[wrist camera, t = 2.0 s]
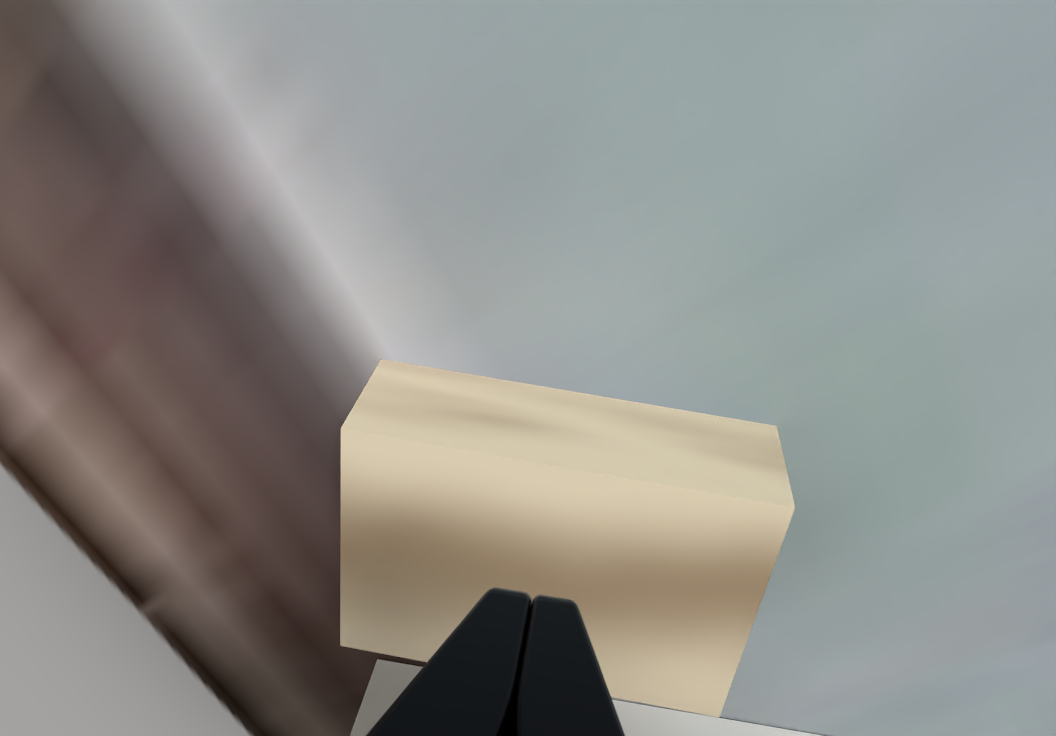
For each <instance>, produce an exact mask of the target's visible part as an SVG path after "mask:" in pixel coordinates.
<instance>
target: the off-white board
mask: <svg viewBox="0 0 1056 736" xmlns="http://www.w3.org/2000/svg"><path fill="white" fill-rule="evenodd" d="M422 668H423V667H420V666H414V665H408V664H402V663H397V662H391V661H385V660H379V659H377V662H376V664H375V667H374V670H373V673H372V675H371V678H370V681H369V684H368V687H367V689H366V692H365V695H364V698H363V701H362V703H361V706H360V709H359V712H358V714H357V717H356V720H355V723H354V726H353V728H352V731H351V734H350V736H366V735H367V734H368V732H369V731H370V730H371V729H372V728H373V726H374V725H375V724H376V723H377V722H378V720H379V719H380V718H381V717H382V716H383V714H384V713H385V712H386V711H387V710H388V708H389V707H390V706H391V705H392V704H393V702H394V701H395V700H396V699H397V698H398V696H399V695H400V694H401V693H402V692H403V690H404V689H405V688H406V687H407V686H408V684H409V683H410V682H411V681H412V680H413V678H414V677H415V676H416V675H417V674H418V672H419V671H420V670H421V669H422ZM612 701H613V704H614V706H615V709H616V712H617V715H618V717H619V720H620V723H621V726H622V728H623V731H624V734H625V736H822V735H817V734H811V733H805V732H799V731H793V730H787V729H782V728H776V727H770V726H764V725H758V724H752V723H747V722H741V721H735V720H729V719H723V718H717V717H712V716H706V715H700V714H694V713H688V712H682V711H677V710H671V709H665V708H659V707H653V706H647V705H642V704H636V703H630V702H624V701H618V700H612Z"/></svg>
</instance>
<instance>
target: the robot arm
mask: <svg viewBox="0 0 1056 736" xmlns="http://www.w3.org/2000/svg"><path fill="white" fill-rule="evenodd" d="M531 603H532V604H531ZM366 736H625V734H624V731H623V728H622V726H621V723H620V720H619V717H618V715H617V712H616V709H615V706H614V704H613V701H612V698H611V695H610V693H609V690H608V687H607V684H606V682H605V679H604V676H603V673H602V671H601V668H600V665H599V662H598V659H597V657H596V654H595V651H594V648H593V646H592V643H591V640H590V637H589V635H588V632H587V629H586V626H585V624H584V621H583V618H582V615H581V613H580V610H579V608H578V606H577V604H576V603H575V602H574V601H573V600H571V599H565V598H559V597H553V596H547V595H536V596H535V597H534V598H533V600H532V598H531V596H530V595H529V594H528V593H527V592H523V591H517V590H510V589H504V588H498V587H493V588H491V589H489V590H488V591H486V592H485V594H484V595H483V596H482V597H481V598H480V599H479V601H478V602H477V603H476V604H475V605H474V607H473V608H472V609H471V610H470V611H469V613H468V614H467V615H466V616H465V617H464V619H463V620H462V621H461V622H460V623H459V625H458V626H457V627H456V628H455V629H454V631H453V632H452V633H451V634H450V635H449V637H448V638H447V639H446V640H445V641H444V643H443V644H442V645H441V646H440V647H439V649H438V650H437V651H436V652H435V653H434V655H433V656H432V657H431V658H430V659H429V661H428V662H427V663H426V664H425V665H424V667H423V668H422V669H421V670H420V671H419V672H418V674H417V675H416V676H415V677H414V678H413V680H412V681H411V682H410V683H409V684H408V686H407V687H406V688H405V689H404V690H403V692H402V693H401V694H400V695H399V696H398V698H397V699H396V700H395V701H394V702H393V704H392V705H391V706H390V707H389V708H388V710H387V711H386V712H385V713H384V714H383V716H382V717H381V718H380V719H379V720H378V722H377V723H376V724H375V725H374V726H373V728H372V729H371V730H370V731H369V732H368V734H367V735H366Z"/></svg>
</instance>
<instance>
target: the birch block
mask: <svg viewBox="0 0 1056 736" xmlns="http://www.w3.org/2000/svg"><path fill="white" fill-rule="evenodd" d="M794 509H795V505H794V501H793V496H792V492H791V487H790V483H789V479H788V474H787V470H786V465H785V461H784V457H783V452H782V448H781V443H780V439H779V435H778V430H777V426H774V425H768V424H762V423H756V422H750V421H744V420H738V419H732V418H726V417H720V416H714V415H708V414H703V413H697V412H691V411H685V410H679V409H673V408H667V407H661V406H655V405H649V404H643V403H637V402H632V401H626V400H620V399H614V398H608V397H602V396H596V395H590V394H584V393H578V392H572V391H566V390H560V389H555V388H549V387H543V386H537V385H531V384H525V383H519V382H513V381H507V380H501V379H495V378H489V377H484V376H478V375H472V374H466V373H460V372H454V371H448V370H442V369H436V368H430V367H424V366H418V365H413V364H407V363H401V362H395V361H389V360H383V359H381V360H380V362H379V364H378V365H377V367H376V369H375V371H374V372H373V374H372V376H371V377H370V379H369V381H368V383H367V384H366V386H365V388H364V389H363V391H362V393H361V395H360V396H359V398H358V400H357V401H356V403H355V405H354V407H353V408H352V410H351V412H350V413H349V415H348V417H347V419H346V420H345V422H344V424H343V425H342V427H341V565H340V646H344V647H350V648H355V649H360V650H366V651H371V652H376V653H381V654H387V655H392V656H397V657H402V658H408V659H413V660H418V661H424V662H428V661H429V659H430V658H431V657H432V656H433V655H434V653H435V652H436V651H437V650H438V649H439V647H440V646H441V645H442V644H443V643H444V641H445V640H446V639H447V638H448V637H449V635H450V634H451V633H452V632H453V631H454V629H455V628H456V627H457V626H458V625H459V623H460V622H461V621H462V620H463V619H464V617H465V616H466V615H467V614H468V613H469V611H470V610H471V609H472V608H473V607H474V605H475V604H476V603H477V602H478V601H479V599H480V598H481V597H482V596H483V595H484V594H485V592H486V591H488V590H489V589H491V588H493V587H498V588H504V589H510V590H517V591H523V592H527V593H528V594H529V595H530V596H531V598H532V600H533V598H534V597H535V596H536V595H547V596H553V597H559V598H565V599H571V600H573V601H574V602H575V603H576V604H577V606H578V608H579V610H580V613H581V615H582V618H583V621H584V624H585V626H586V629H587V632H588V635H589V637H590V640H591V643H592V646H593V648H594V651H595V654H596V657H597V659H598V662H599V665H600V668H601V671H602V673H603V676H604V679H605V682H606V684H607V687H608V690H609V693H610V695H611V697H613V698H619V699H624V700H629V701H635V702H640V703H645V704H650V705H656V706H661V707H666V708H671V709H677V710H682V711H687V712H693V713H698V714H703V715H708V716H714V717H720V714H721V711H722V708H723V706H724V703H725V700H726V697H727V695H728V692H729V689H730V686H731V684H732V681H733V678H734V675H735V672H736V670H737V667H738V664H739V661H740V659H741V656H742V653H743V650H744V648H745V645H746V642H747V639H748V636H749V634H750V631H751V628H752V625H753V623H754V620H755V617H756V614H757V612H758V609H759V606H760V603H761V601H762V598H763V595H764V592H765V589H766V587H767V584H768V581H769V578H770V576H771V573H772V570H773V567H774V565H775V562H776V559H777V556H778V553H779V551H780V548H781V545H782V542H783V540H784V537H785V534H786V531H787V529H788V526H789V523H790V520H791V518H792V515H793V512H794ZM531 604H532V603H531Z"/></svg>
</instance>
